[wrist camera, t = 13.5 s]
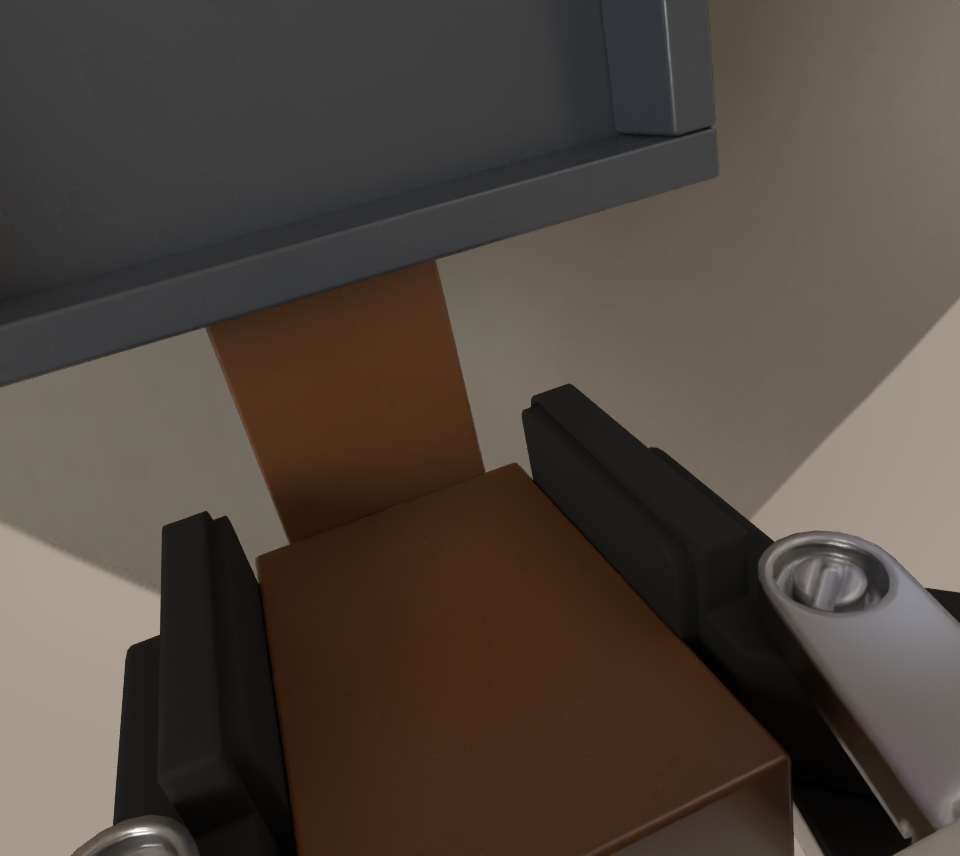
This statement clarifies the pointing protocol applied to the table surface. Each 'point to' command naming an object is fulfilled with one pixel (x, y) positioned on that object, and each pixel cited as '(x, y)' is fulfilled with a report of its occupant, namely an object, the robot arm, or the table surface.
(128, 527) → the table surface
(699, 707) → the dark piece
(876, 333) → the table surface
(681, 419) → the table surface
